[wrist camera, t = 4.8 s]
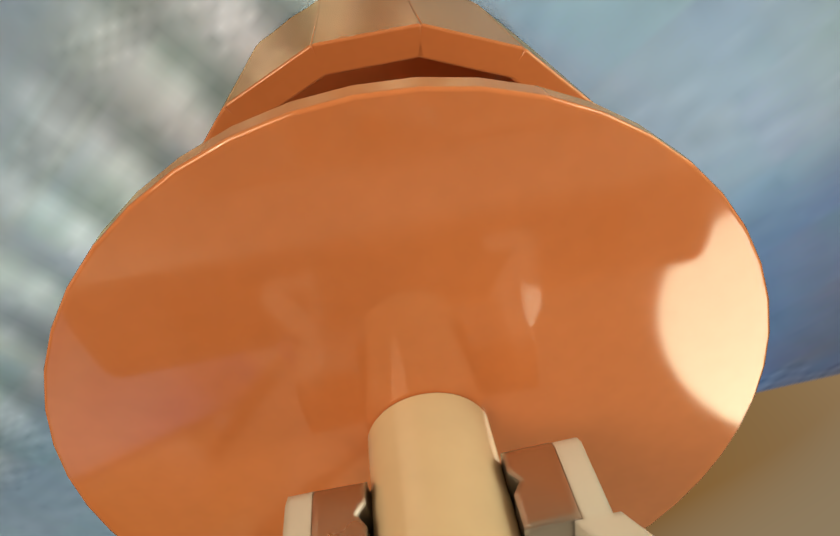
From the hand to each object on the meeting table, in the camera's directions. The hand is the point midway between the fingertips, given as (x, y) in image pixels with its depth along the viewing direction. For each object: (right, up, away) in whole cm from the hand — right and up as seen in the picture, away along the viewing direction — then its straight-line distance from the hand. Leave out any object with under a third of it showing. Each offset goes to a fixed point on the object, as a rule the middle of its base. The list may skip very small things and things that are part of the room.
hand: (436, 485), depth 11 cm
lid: (0, +1, +2) cm, 2 cm away
